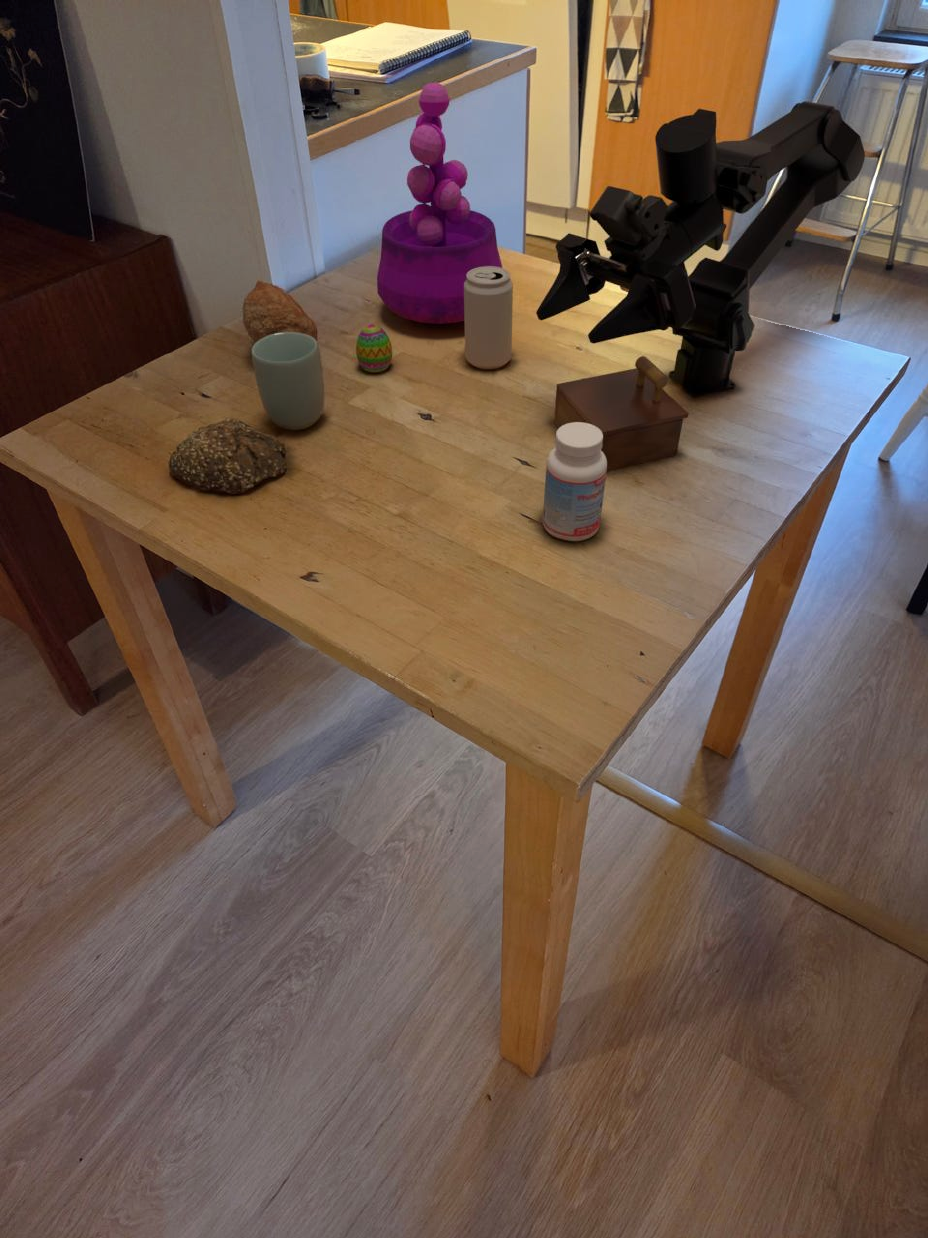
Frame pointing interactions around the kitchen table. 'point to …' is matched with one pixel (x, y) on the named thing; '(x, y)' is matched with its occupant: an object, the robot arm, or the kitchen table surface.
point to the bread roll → (227, 457)
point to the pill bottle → (575, 482)
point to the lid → (624, 399)
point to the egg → (373, 349)
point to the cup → (289, 379)
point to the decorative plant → (433, 229)
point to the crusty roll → (274, 313)
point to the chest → (627, 438)
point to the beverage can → (488, 317)
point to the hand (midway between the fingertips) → (563, 327)
